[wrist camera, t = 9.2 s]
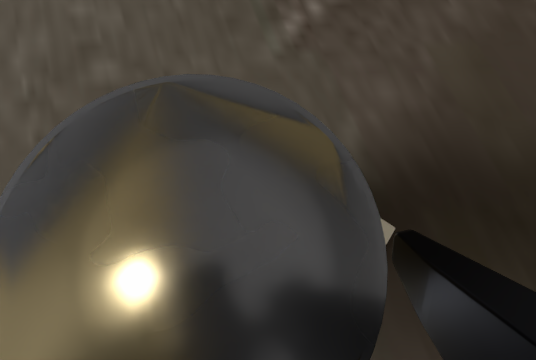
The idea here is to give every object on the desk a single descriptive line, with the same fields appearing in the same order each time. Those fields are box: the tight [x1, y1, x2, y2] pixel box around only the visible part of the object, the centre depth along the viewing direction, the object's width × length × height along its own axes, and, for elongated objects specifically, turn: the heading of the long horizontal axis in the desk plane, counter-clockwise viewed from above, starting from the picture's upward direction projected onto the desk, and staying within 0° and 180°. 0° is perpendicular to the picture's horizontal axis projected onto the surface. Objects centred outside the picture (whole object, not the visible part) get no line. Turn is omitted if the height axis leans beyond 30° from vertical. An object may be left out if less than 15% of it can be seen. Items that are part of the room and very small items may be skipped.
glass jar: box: [0, 74, 388, 360], centre depth 11 cm, size 5×5×13 cm
